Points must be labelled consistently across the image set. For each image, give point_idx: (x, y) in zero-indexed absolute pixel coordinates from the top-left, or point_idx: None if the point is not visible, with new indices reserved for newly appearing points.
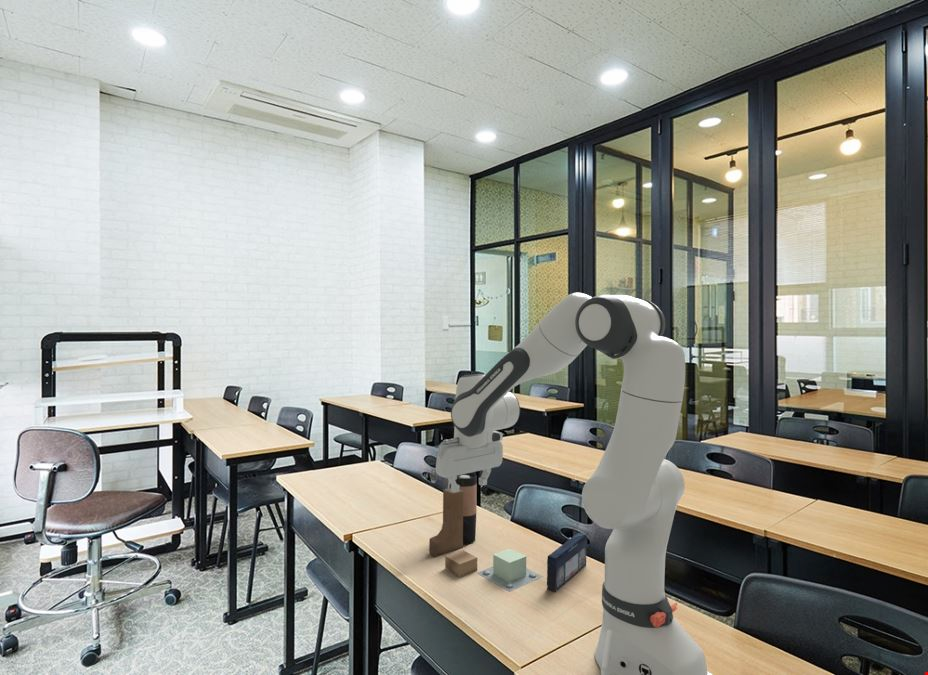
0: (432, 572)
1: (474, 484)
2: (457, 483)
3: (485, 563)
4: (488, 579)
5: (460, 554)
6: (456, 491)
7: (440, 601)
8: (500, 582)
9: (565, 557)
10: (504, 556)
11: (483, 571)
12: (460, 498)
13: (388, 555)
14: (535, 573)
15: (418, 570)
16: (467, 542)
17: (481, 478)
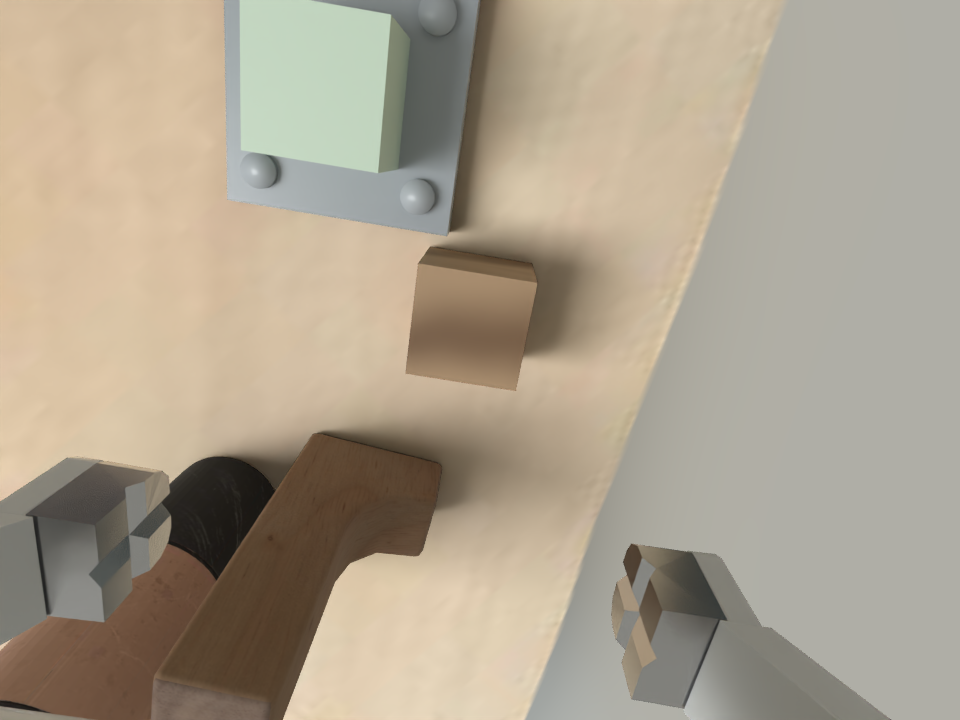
0: (536, 404)
1: None
2: None
3: (314, 295)
4: (458, 149)
5: (452, 349)
6: (695, 552)
7: (703, 220)
8: (441, 79)
9: None
10: (347, 103)
11: (425, 211)
12: (210, 635)
13: (544, 600)
14: None
15: (560, 452)
16: (243, 467)
17: (81, 578)
